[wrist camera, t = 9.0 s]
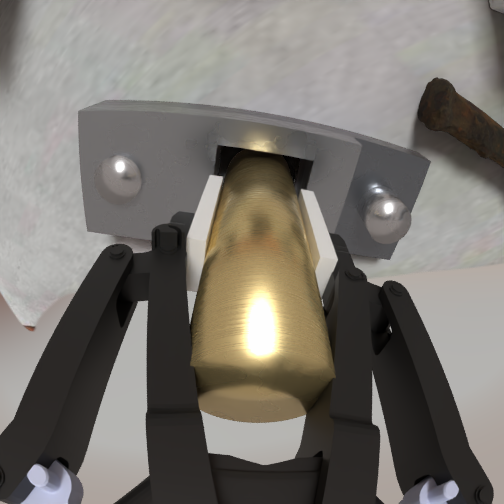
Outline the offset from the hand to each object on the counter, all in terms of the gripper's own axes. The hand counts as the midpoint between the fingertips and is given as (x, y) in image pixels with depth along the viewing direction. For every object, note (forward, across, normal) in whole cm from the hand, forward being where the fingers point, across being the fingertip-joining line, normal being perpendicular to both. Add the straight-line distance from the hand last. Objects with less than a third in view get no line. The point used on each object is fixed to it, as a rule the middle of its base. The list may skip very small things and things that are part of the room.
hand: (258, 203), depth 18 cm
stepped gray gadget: (+5, 0, 0) cm, 5 cm away
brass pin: (+4, 0, 0) cm, 4 cm away
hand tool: (+6, -20, -8) cm, 22 cm away
